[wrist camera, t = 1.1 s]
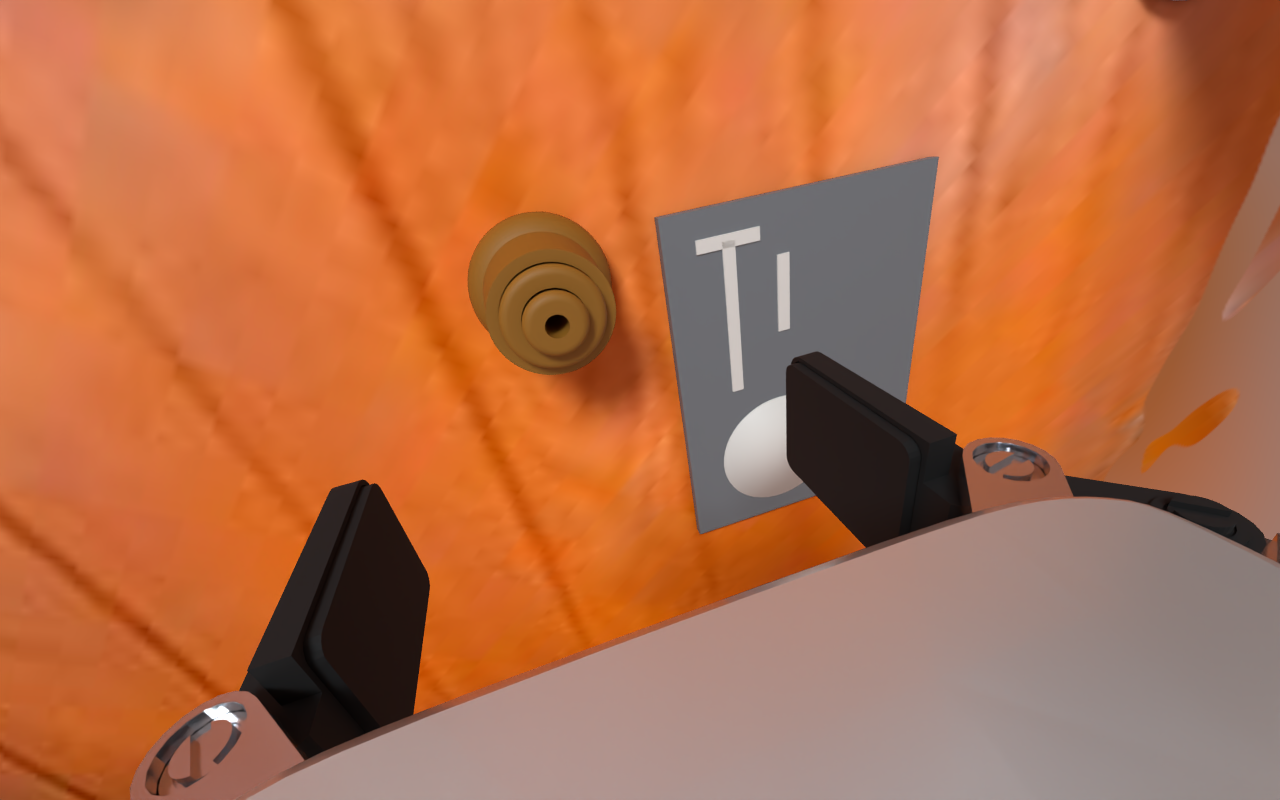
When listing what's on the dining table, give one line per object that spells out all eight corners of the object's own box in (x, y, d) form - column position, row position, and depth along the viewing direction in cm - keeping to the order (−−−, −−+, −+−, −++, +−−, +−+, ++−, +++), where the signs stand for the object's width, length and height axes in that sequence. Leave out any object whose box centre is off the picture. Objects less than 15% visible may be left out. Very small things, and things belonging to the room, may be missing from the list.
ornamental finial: (557, 179, 25) (629, 298, 28) (437, 261, 25) (525, 368, 29) (583, 191, 18) (673, 345, 22) (417, 303, 18) (536, 436, 22)
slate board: (930, 156, 30) (940, 156, 29) (891, 464, 41) (897, 468, 41) (654, 217, 27) (658, 219, 26) (697, 529, 39) (700, 535, 38)
